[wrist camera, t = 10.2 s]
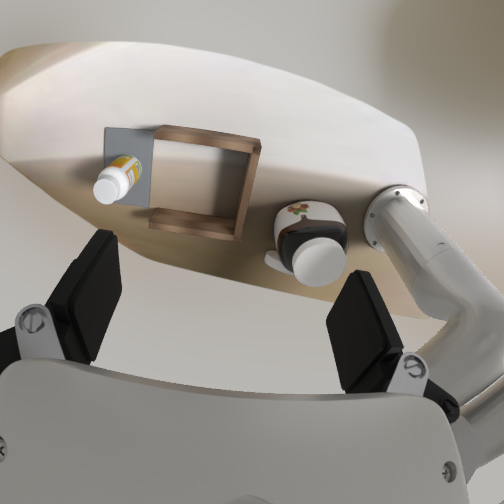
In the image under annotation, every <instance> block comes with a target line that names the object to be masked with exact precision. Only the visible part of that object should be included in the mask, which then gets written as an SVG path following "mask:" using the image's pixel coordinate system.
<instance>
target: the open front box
mask: <svg viewBox="0 0 504 504" xmlns="http://www.w3.org/2000/svg"><path fill="white" fill-rule="evenodd" d="M154 139H159V140H168V141H176V142H184V143H192V144H199V145H206V146H212V147H219V148H225V149H231V150H236V151H242V152H247V153H249V156H248V160H247V165H246V170H245V174H244V179H243V184H242V188H241V193H240V198H239V202H238V207H237V212H236V217H235V220H233V219H227V218H221V217H214V216H208V215H202V214H196V213H189V212H183V211H176V210H169V209H163V208H156V210H155V212H154V213H153V215H152V217H151V219H150V221H149V228H151V229H158V230H164V231H171V232H177V233H183V234H190V235H196V236H202V237H208V238H215V239H221V240H227V241H233V242H239V243H240V239H241V234H242V230H243V226H244V221H245V217H246V212H247V208H248V204H249V199H250V195H251V190H252V186H253V182H254V177H255V173H256V169H257V165H258V160H259V156H260V152H261V143H260V139H256V138H251V137H246V136H240V135H234V134H229V133H223V132H216V131H210V130H203V129H196V128H188V127H180V126H171V125H163V126H161V127H160V128H159V129H157V130H156V131H154Z"/></svg>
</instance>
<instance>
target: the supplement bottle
mask: <svg viewBox="0 0 504 504" xmlns="http://www.w3.org/2000/svg"><path fill="white" fill-rule="evenodd" d="M141 173H142V167H141V164H140V162H139V160H138V159H137V158H136V157H134V156H132V155H127V154H126V155H122V156H120V157H118V158H117V159H116V160H114V161H113V162H112V163H111V164H109V165H108V166H107V167H106V168H105V169H104V170H102V171H101V173H100V174H99V176H98V179H97V182H96V183H95V185H94V188H93V192H94V196H95V197H96V199H97V200H98V201H99V202H101V203H103V204H111V203H113V202H114V201H115V200H119V199H121V198H123V197H124V196H125V195H126V194H127V193H128V191H129V190H130V189H131V188H132V187H133V185H134V184H135V183H136V182H137V181H138V179H139V178H140V176H141Z"/></svg>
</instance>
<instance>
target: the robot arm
mask: <svg viewBox="0 0 504 504" xmlns="http://www.w3.org/2000/svg"><path fill="white" fill-rule="evenodd" d="M363 228H364V234H365V237H366V239H367V240H368V242H369V243H370V245H371V246H372V247H373V248H375V249H376V250H378V251H380V252H385V253H387V255H388V257H389V258H390V260H391V262H392V263H393V265H394V266H395V268H396V270H397V271H398V273H399V275H400V276H401V278H402V280H403V282H404V283H405V285H406V287H407V288H408V290H409V292H410V294H411V295H412V297H413V299H414V301H415V302H416V304H417V306H418V307H419V309H420V310H421V311H422V312H423V313H425V314H426V315H428V316H430V317H432V318H436V319H439V320H444V321H447V323H446V324H445V326H444V327H443V328H442V329H441V330H440V331H439V332H438V333H437V334H436V335H435V336H434V337H433V338H432V339H431V340H429V341H428V342H427V343H426V344H425V345H424V346H423V347H422V348H420V349H419V350H418V351H417V352H415V353H412V352H406V353H404V354H403V352H402V349H403V348H404V346H403V344H402V341H401V339H400V337H399V334H398V332H397V330H396V327H395V325H394V323H393V320H392V318H391V316H390V314H389V312H388V309H387V307H386V305H385V303H384V301H383V299H382V297H381V295H380V292H379V290H378V288H377V286H376V284H375V282H374V280H373V278H372V276H371V274H370V273H369V272H368V271H361V270H355V271H354V272H353V273H350V275H349V276H348V278H347V280H346V282H345V284H344V286H343V288H342V290H341V292H340V294H339V296H338V298H337V299H336V301H335V303H334V305H333V307H332V309H331V311H330V312H329V314H328V316H327V319H326V326H327V329H328V333H329V337H330V341H331V345H332V349H333V353H334V358H335V362H336V366H337V370H338V374H339V379H340V383H341V387H342V389H343V390H345V393H346V394H320V395H319V394H316V395H315V394H313V395H309V394H273V393H254V392H242V391H231V390H221V389H212V388H204V387H196V386H189V385H183V384H176V383H170V382H164V381H159V380H153V379H148V378H143V377H138V376H133V375H129V374H124V373H120V372H115V371H111V370H106V369H102V368H98V367H94V366H90V363H91V361H95V360H96V357H97V354H98V352H99V349H100V346H101V343H102V341H103V338H104V335H105V333H106V330H107V328H108V325H109V322H110V320H111V318H112V315H113V312H114V310H115V308H116V305H117V303H118V301H119V298H120V296H121V292H122V285H121V275H120V265H119V254H118V240H117V236H116V235H114V234H113V231H110V230H103V229H98V230H97V231H96V233H95V234H94V235H93V237H92V238H91V239H90V241H89V242H88V244H87V245H86V246H85V248H84V249H83V251H82V252H81V253H80V255H79V256H78V258H77V259H74V261H73V262H72V263H71V264H70V266H69V268H68V269H67V271H66V272H65V274H64V275H63V277H62V278H61V280H60V281H59V283H58V285H57V286H56V288H55V289H54V291H53V292H52V294H51V296H50V297H49V299H48V301H47V302H46V304H45V306H43V305H41V304H31V305H28V306H26V307H24V308H23V309H22V310H21V311H20V312H19V313H18V315H17V316H16V319H15V326H14V327H12V328H10V329H7V330H5V331H3V332H0V504H469V499H468V492H467V486H466V485H467V483H468V481H469V480H470V479H471V477H472V475H473V474H474V472H475V470H476V469H477V468H479V467H481V466H483V465H485V464H487V463H488V462H490V461H492V460H494V459H495V458H497V457H499V456H500V455H502V454H504V377H503V378H501V379H500V380H499V381H498V382H496V383H495V384H494V385H493V386H492V387H490V388H489V389H488V390H486V391H485V392H484V393H483V394H481V395H480V396H479V397H477V398H476V399H474V400H473V401H472V402H470V403H469V404H467V405H464V404H465V403H467V402H468V401H470V400H471V399H472V398H474V397H475V396H477V395H479V393H481V392H482V391H484V390H485V389H486V388H488V387H489V386H490V385H491V384H493V383H494V382H495V381H496V380H497V379H498V378H500V377H501V376H502V375H503V374H504V295H503V294H502V293H501V292H500V291H499V290H498V289H497V288H496V287H495V286H494V285H493V284H492V283H491V282H490V281H489V280H488V279H487V278H486V277H485V275H484V274H483V273H482V272H481V271H480V270H479V269H478V267H477V266H476V265H475V264H474V263H473V262H472V261H471V259H470V258H469V257H468V256H467V255H466V253H465V252H464V251H463V250H462V249H461V248H460V247H459V246H458V245H457V244H456V242H455V241H454V240H453V239H452V238H451V237H450V236H449V235H448V233H447V232H446V231H445V230H444V229H443V228H442V227H441V226H440V225H439V224H438V223H437V222H436V221H435V220H434V219H433V218H432V217H431V216H430V215H429V210H428V204H427V202H426V200H425V198H424V197H423V195H422V194H421V193H420V192H419V191H417V190H416V189H414V188H412V187H409V186H403V185H401V186H394V187H391V188H389V189H387V190H385V191H383V192H382V193H380V194H379V195H378V196H377V197H376V198H375V199H374V200H373V201H372V203H371V204H370V206H369V207H368V209H367V211H366V214H365V217H364V224H363ZM499 504H504V500H503V501H502V502H501V503H499Z"/></svg>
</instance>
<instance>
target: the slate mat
mask: <svg viewBox="0 0 504 504" xmlns="http://www.w3.org/2000/svg"><path fill="white" fill-rule="evenodd" d="M153 145H154V131H152V130H140V129H127V128H110V127H106V130H105V162H104V169H105V168H106V167H107V166H108V165H109V164H111V163H112V162H113V161H114V160H116V159H117V158H118V157H120V156H122V155H126V154H127V155H132V156H134V157H136V158H137V159H138V160H139V162H140V164H141V167H142V173H141V176H140V178H139V179H138V181H137V182H136V183H135V184H134V185H133V187H132V188H131V189H130V190H129V191H128V193H127V194H126V195H125V196H124V197H123V198H121V199H119V200H115V201H114V202H113V203H119V204H126V205H133V206H140V207H147V208H149V207H150V185H151V169H152V156H153Z"/></svg>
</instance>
